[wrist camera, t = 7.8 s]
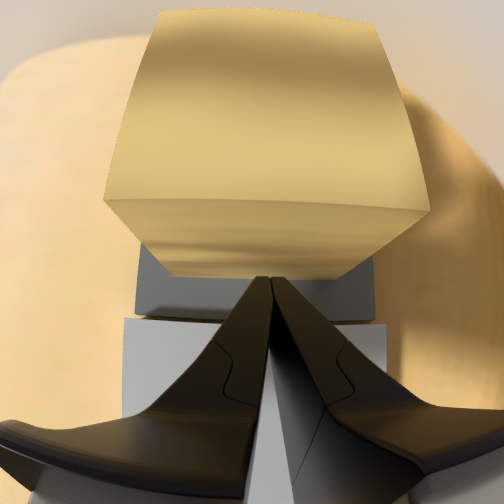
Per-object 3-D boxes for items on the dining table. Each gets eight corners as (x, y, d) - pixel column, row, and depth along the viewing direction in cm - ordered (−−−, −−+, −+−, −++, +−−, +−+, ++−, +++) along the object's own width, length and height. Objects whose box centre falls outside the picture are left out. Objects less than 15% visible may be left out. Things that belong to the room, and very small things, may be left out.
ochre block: (335, 280, 16) (430, 211, 7) (173, 276, 16) (102, 199, 7) (324, 144, 18) (372, 24, 9) (187, 139, 18) (161, 11, 9)
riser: (360, 496, 13) (373, 511, 11) (139, 495, 13) (129, 511, 11) (370, 326, 16) (386, 323, 14) (137, 320, 16) (124, 317, 14)
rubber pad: (370, 320, 16) (375, 319, 15) (138, 314, 16) (134, 313, 15) (354, 141, 19) (357, 135, 18) (162, 132, 19) (160, 126, 18)
